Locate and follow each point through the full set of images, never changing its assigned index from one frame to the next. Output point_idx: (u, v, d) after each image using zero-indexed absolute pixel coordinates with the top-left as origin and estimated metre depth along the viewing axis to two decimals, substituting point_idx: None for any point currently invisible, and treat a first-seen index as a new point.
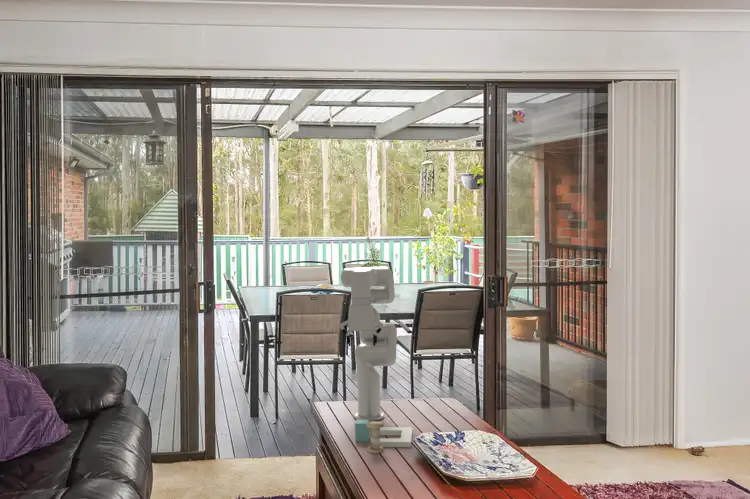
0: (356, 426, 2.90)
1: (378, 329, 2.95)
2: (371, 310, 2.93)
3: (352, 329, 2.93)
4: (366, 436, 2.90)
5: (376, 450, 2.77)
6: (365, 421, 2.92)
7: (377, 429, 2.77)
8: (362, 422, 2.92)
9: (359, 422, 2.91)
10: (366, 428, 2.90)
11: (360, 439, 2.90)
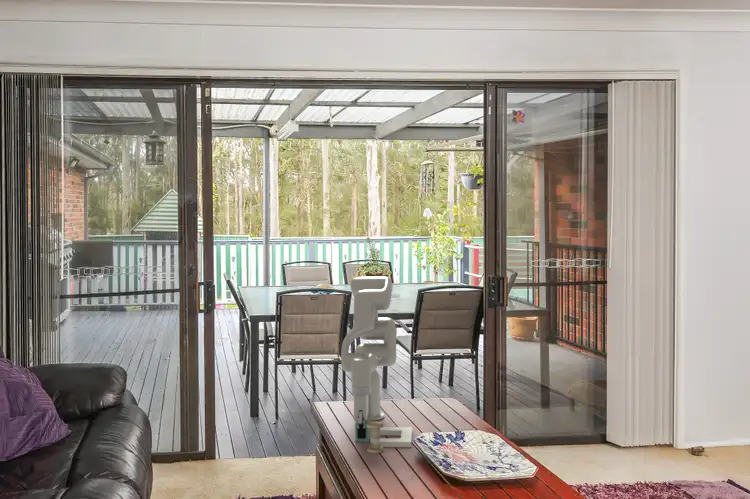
0: (356, 426, 2.90)
1: None
2: None
3: (366, 418, 2.88)
4: (366, 436, 2.90)
5: (376, 450, 2.77)
6: (365, 421, 2.92)
7: (377, 429, 2.77)
8: None
9: None
10: (366, 428, 2.90)
11: (360, 439, 2.90)
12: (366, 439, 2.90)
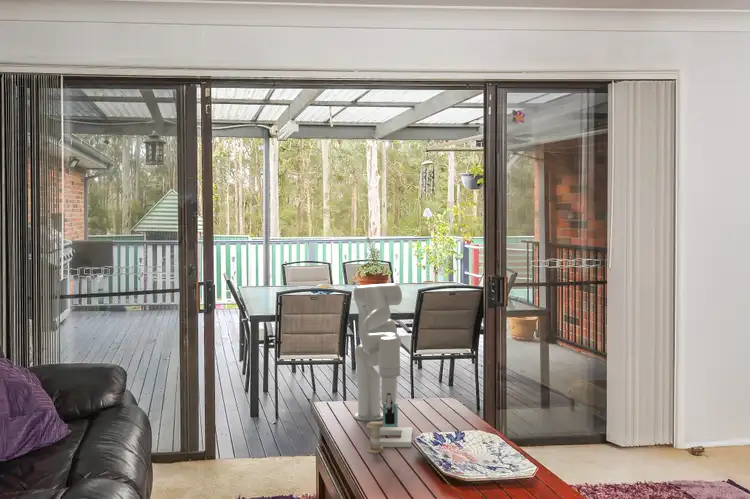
0: (384, 410, 2.68)
1: None
2: None
3: (395, 402, 2.67)
4: (395, 421, 2.68)
5: (376, 450, 2.77)
6: None
7: (377, 429, 2.77)
8: None
9: None
10: (395, 413, 2.68)
11: (388, 424, 2.69)
12: (395, 425, 2.68)
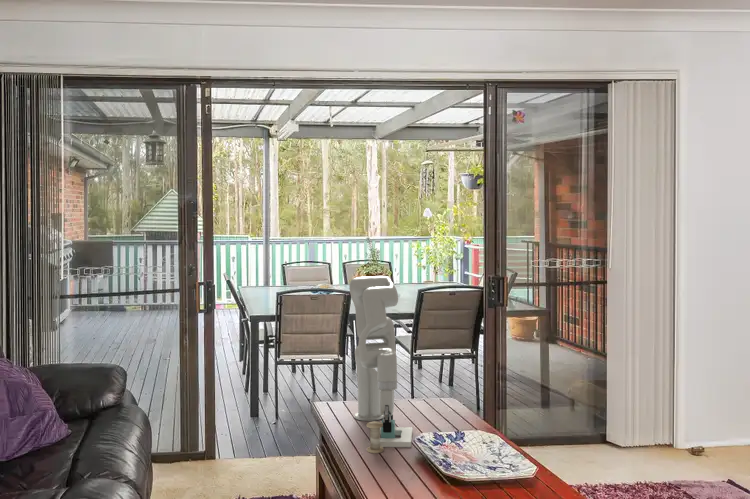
0: None
1: None
2: None
3: (392, 414, 2.88)
4: (392, 436, 2.89)
5: (376, 450, 2.77)
6: (391, 421, 2.91)
7: (377, 429, 2.77)
8: None
9: None
10: (392, 428, 2.89)
11: None
12: None
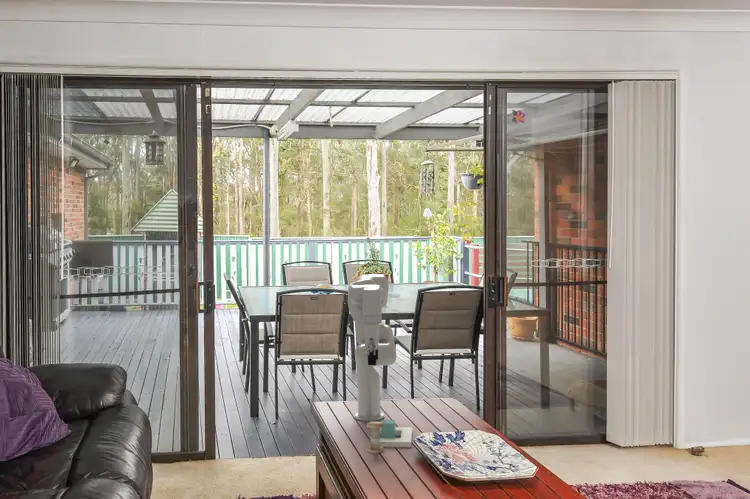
0: None
1: None
2: None
3: (377, 347, 2.94)
4: (392, 436, 2.89)
5: (376, 450, 2.77)
6: (391, 421, 2.91)
7: (377, 429, 2.77)
8: (388, 422, 2.91)
9: (385, 422, 2.91)
10: (392, 428, 2.89)
11: None
12: None
